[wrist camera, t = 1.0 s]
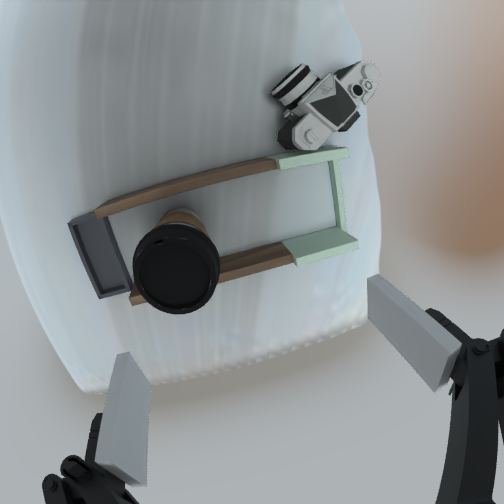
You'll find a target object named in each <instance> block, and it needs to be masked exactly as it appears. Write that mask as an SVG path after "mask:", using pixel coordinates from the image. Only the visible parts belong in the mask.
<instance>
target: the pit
mask: <svg viewBox="0 0 504 504" xmlns="http://www.w3.org/2000/svg"><path fill="white" fill-rule="evenodd" d="M67 224H68V226H69V229H70V232H71V235H72V237H73V240H74V243H75V245H76V248H77V250H78V253H79V255H80V258H81V260H82V262H83V265H84V267H85V269H86V272H87V274H88V276H89V278H90V281H91V283H92V285H93V287H94V289H95V291H96V293H97V296H98V298H99V299H102V298H106V297H110V296H113V295H117V294H121V293H125V292H129V291H131V290H132V287H133V283H132V280H131V278H130V275H129V273H128V271H127V268H126V266H125V263H124V261H123V258H122V255H121V253H120V250H119V248H118V245H117V242H116V240H115V237H114V234H113V231H112V228H111V225H110V223H109V220H108V217H107V216H106V217H103V218H100V219H97V218H96V215H95V212H91V213H89V214H86V215H83V216H81V217H78V218H75V219H73V220H71V221H70V222H69V223H67Z"/></svg>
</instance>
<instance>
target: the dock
mask: <svg viewBox="0 0 504 504" xmlns="http://www.w3.org/2000/svg"><path fill="white" fill-rule="evenodd" d="M349 157H350V151H349V148H347V147H337V145H329V146H323V147H319V148H318V149H317V150H311V151H293V152H288V153H283V154H278V155H273V156H268V157H267V158H273V159H275V161H276V166H277V169H279V170H284V169H289V168H293V167H298V166H304V165H309V164H314V163H320V162H325V161H328V162H329V168H330V175H331V183H332V190H333V198H334V206H335V215H336V225H337V226H336V227H332V228H328V229H325V230H321V231H317V232H313V233H310V234H306V235H302V236H299V237H295V238H291V239H288V240H284V241H281V242H282V243H283V244H284V245H285V246H286V248H287V249H288V250H289V251H290V252H291V253H292V256H293V262H294V264H295V265H296V266H297V267H299V266H303V265H306V264H310V263H313V262H316V261H320V260H323V259H326V258H330V257H333V256H336V255H340V254H343V253H346V252H349V251H353V250H356V249H359V241H358V240H357V239H356V238H354V237H353V236H351V235H349V234H348V233H347V222H346V211H345V201H344V193H343V184H342V176H341V169H340V162H339V159H343V158H349Z"/></svg>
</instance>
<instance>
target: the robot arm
mask: <svg viewBox="0 0 504 504" xmlns="http://www.w3.org/2000/svg"><path fill="white" fill-rule="evenodd" d="M367 293H368V319H369V320H370V321H371V322H372V323H373V324H374V325H375V326H376V327H377V329H378V330H379V331H380V332H381V333H382V334H383V335H384V336H385V337H386V338H387V339H388V341H389V342H390V343H391V344H392V345H393V346H394V347H395V348H396V349H397V351H398V352H399V353H400V354H401V355H402V356H403V357H404V358H405V360H406V361H407V362H408V363H409V364H410V365H411V366H412V367H413V369H414V370H415V371H416V372H417V373H418V374H419V375H420V377H421V378H422V379H423V380H424V381H425V382H426V383H427V385H428V386H429V387H430V388H431V389H432V391H433V392H435V393H436V392H438V391H439V390H441V389H442V388H443V387H445V386H446V385H447V383H448V381H449V378H450V377H451V378H452V379H453V381H454V382H453V384H452V387H451V389H450V391H449V395H451V393H452V410H451V421H450V431H449V439H448V447H447V453H446V459H445V464H444V470H443V475H442V479H441V484H440V489H439V493H438V496H437V500H436V503H435V504H496V503H495V502H494V501H493V500H492V493H493V487H494V480H495V473H496V463H497V451H498V420H499V424H500V429H501V433H502V438H503V443H504V329H503V330H502V332H501V335H500V337H499V338H496V339H494V340H491V341H486V340H484V339H480V338H477V339H472V338H470V337H469V336H468V335H467V334H466V333H465V332H463V331H462V330H461V329H460V328H459V327H458V326H456V325H455V324H454V323H452V322H451V321H450V320H449V319H448V318H446V317H445V316H444V315H443V314H442V313H441V312H439V311H437V310H434V309H432V308H429V309H427V310H426V311H424V310H423V309H421V308H420V307H419V306H418V305H416V304H415V303H414V302H413V301H411V299H409V298H408V297H407V296H406V295H404V294H403V293H402V292H401V291H399V290H398V289H397V288H396V287H394V286H393V285H392V284H391V283H389V282H388V281H387V280H386V279H384V278H383V277H382V276H381V275H379V274H377V275H375V276H372V277H370V278H367ZM151 387H152V385H151V384H150V383H149V381H148V380H147V378H146V377H145V375H144V374H143V372H142V371H141V369H140V368H139V366H138V365H137V363H136V362H135V360H134V359H133V357H132V356H131V354H130V353H129V352H126V353H122V354H117V357H116V361H115V364H114V368H113V372H112V376H111V380H110V384H109V388H108V393H107V397H106V402H105V406H104V411H103V413H97V414H96V416H95V418H94V419H93V421H92V424H91V429H90V431H91V432H90V433H89V439H88V444H87V450H86V455H85V461H84V460H82V459H81V458H80V457H79V456H76V455H70V456H68V457H66V458H65V459H64V460H63V462H62V464H61V469H60V471H61V474H62V475H63V476H64V477H66V478H60V477H59V476H57V475H55V474H49V475H48V476H46V477H45V478H44V480H43V483H42V489H43V493H44V498H45V503H46V504H139V503H138V502H137V501H136V499H135V498H134V497H133V496H132V495H131V494H130V492H129V491H128V490H126V489H125V483H126V484H128V485H130V486H131V487H147V447H148V425H149V411H150V397H151Z"/></svg>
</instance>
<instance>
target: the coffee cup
mask: <svg viewBox="0 0 504 504" xmlns="http://www.w3.org/2000/svg"><path fill="white" fill-rule="evenodd" d="M132 267H133V276H134V281H135V284H136V287H137V289H138V291H139V292H140V294H141V295H142V297H143V298H144V299H145V300H146V301H147V302H148V303H149V304H151V305H152V306H153V307H155V308H157V309H158V310H160V311H163V312H166V313H170V314H186V313H191V312H193V311H196V310H198V309H199V308H201V307H202V306H204V305H205V304H206V303H207V302H208V301H209V299H210V298H211V296H212V295H213V293H214V290H215V288H216V285H217V283H218V281H219V275H220V258H219V253H218V251H217V249H216V247H215V245H214V244H213V242H212V241H211V240H210V238H209V236H208V234H207V232H206V229H205V227H204V225H203V223H202V221H201V219H200V217H199V216H198V215H197V214H196V213H195V212H194V211H192V210H190V209H187V208H176V209H173V210H171V211H170V212H168V213H167V214H166V215H165V216H164V217H163V218H162V220H161V221H160V222H159V223H158V224H157V225H156V226H155V227H154V228H153V229H152V230H151V231H150V232H149V233H147V234H146V235H145V236H144V237H143V238H142V240H141V241H140V242H139V244H138V246H137V247H136V250H135V253H134V257H133V266H132Z"/></svg>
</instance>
